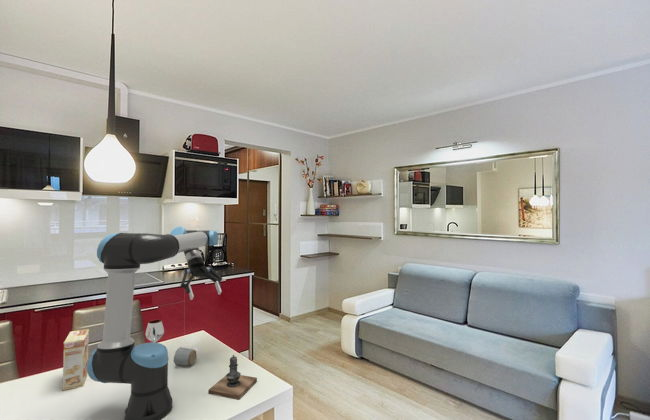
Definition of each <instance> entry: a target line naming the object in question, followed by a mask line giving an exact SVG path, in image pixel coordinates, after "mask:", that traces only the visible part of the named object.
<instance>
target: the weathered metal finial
mask: <svg viewBox="0 0 650 420" xmlns="http://www.w3.org/2000/svg"><path fill="white" fill-rule="evenodd" d="M238 366H239V364H238V357H237V356H235V354H232V356H230V358H229V365H228V367H229V372H228V373H227V374H226V375H225V376H226V377H227V380H228V381H229V382H228V383H227V386H228V387H235V386H238V385H239V384H240V381H238V380H239V378H240V375H242V373H241V372H239V371H238Z"/></svg>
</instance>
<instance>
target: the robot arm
mask: <svg viewBox="0 0 650 420" xmlns="http://www.w3.org/2000/svg"><path fill="white" fill-rule="evenodd" d="M218 241H219V233H218V232H217V231H216V230H191V229H190V230H188V229H187V230H186V228H184V227H183V226H176V227H174V228H173V229H172V230H171V231H170V234H169V233H167V234H166V233H165V234H160V233H159V234H158V233H149V232H148V233H146V232H145V233H144V232H143V233H141V232H138V233H136V232H135V233H134V232H130V233H129V232H117V233H110V234H108V235H106V236H105V237H103V238H102V239H101V240H100V242H99V244H98V245H97V248H96V257H97V259H98V261H99V262H100V263H102V264H103V270H104V271H105V272H106V273H107V285H106V294H105V298H106V299H105V305H104V306H105V308H104V318H103V319H104V321H103V322H104V323H103V330H102V331H103V334H102V340H101V341H100V342H99V343H98V344H97V346H96V348H95V350H93V351H92V352H91V354H90V357H88V363H87V372H88V373H87V376H88V377H89V379H91V381H93V382H94V381H95V382H97V383H98V382H100V383H103V384H109V383H111V384H130V397H129V399H128V403H127V406H126V408H125V410H124V411H125V412H124V420H162V419H163V418H165V417H166V416H167V415H169V413H171V411H172V409H173V402H174V401H173V396H172V395H171V391H170V389H169V386H168V385H169V383H168V381H169V380H168V377H169V374H168V373H169V354H168V353H169V352H168V348H167V347H166V345H165V344H162V343H159V342H156V343H154V342H152V341H150V342H145V343H140V344H137V345H135V342H136V341H135V339H134V338H133V337H131V333H132V332H131V331H132V319H133V304H134V302H133V301H134V289H135V280H136V279H135V277H136V272H138V270H139V269H141V265H148V264H152V263H153V264H155V263H156V262H161V261H163V260H164V261H165V260H168V259H171V258H174V257H176V256H177V255H178V254H180V253H184V256H185V260H186V263H187V267H188V269H187V268H184V270H183V276H182V279H181V283H180V285H179V287H180V288H184V290H185V293H186V294H188V295H189V296H188V297H189V300H190V301H192V300H193V299H194V297H195V295H194V293H193V290H192V286H191V284H190V283H191V282H192V280H193V279H194V278H195V277H196V278H199V277H200V278H202V277H204V278H207V279H208V280H210V281H211V282H213V283H214V286H215V288H216V292H217V294H218V295H219V296H220V295H221V294H222V288H221V287H222V285H221V284H222V283H221V282H222V280H223V277H222V276H221V275H220V274H219V273H218V272H217V271H216V270H215V269H214V268H213V266H212V265H209V266H205V262H204V260H203V256H202V253H201V250H200V248H202V247H205V246H206V247H207V246H208V247H209V246H210V247H211V246H215V245H217V244H218ZM188 274H191V275H190V276H189V278H188V280H187V275H188ZM186 280H187V282H186ZM185 282H186V283H185Z"/></svg>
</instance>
